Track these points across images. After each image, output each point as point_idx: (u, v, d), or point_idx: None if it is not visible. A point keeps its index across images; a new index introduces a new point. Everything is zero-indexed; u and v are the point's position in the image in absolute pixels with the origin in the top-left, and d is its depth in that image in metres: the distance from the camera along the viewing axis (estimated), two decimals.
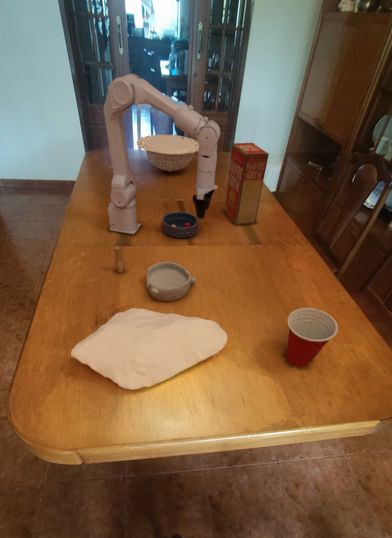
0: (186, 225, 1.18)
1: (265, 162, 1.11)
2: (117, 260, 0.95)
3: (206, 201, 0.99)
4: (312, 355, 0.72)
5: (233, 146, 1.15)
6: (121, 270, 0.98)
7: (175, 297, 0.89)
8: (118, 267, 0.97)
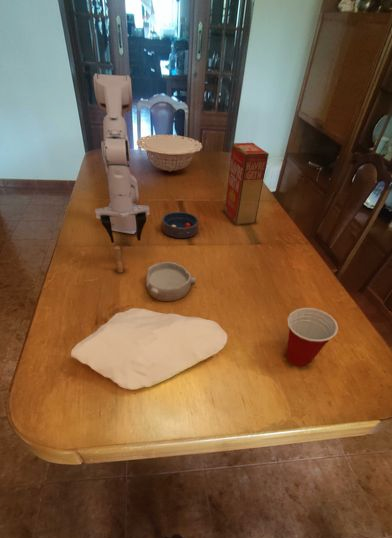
0: (186, 225, 1.18)
1: (265, 162, 1.11)
2: (117, 260, 0.95)
3: (102, 222, 0.86)
4: (312, 355, 0.72)
5: (233, 146, 1.15)
6: (121, 270, 0.98)
7: (175, 297, 0.89)
8: (118, 267, 0.97)
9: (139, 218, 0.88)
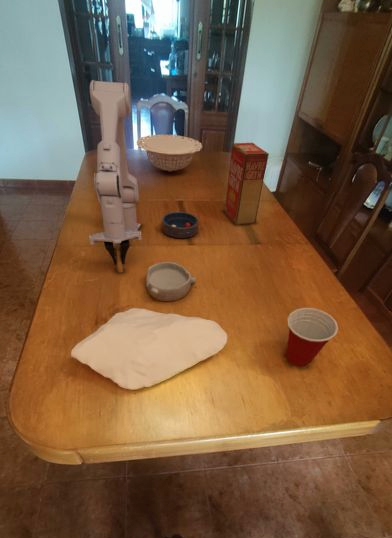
0: (186, 225, 1.18)
1: (265, 162, 1.11)
2: (117, 260, 0.95)
3: (105, 247, 0.90)
4: (312, 355, 0.72)
5: (233, 146, 1.15)
6: (121, 270, 0.98)
7: (175, 297, 0.89)
8: (118, 267, 0.97)
9: (122, 244, 0.91)
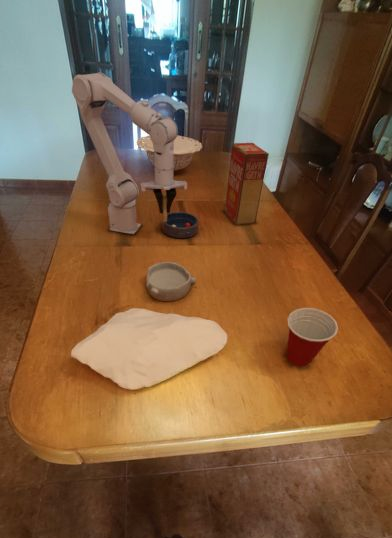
0: (186, 225, 1.18)
1: (265, 162, 1.11)
2: (163, 209, 1.04)
3: (155, 194, 0.99)
4: (312, 355, 0.72)
5: (233, 146, 1.15)
6: (166, 219, 1.07)
7: (175, 297, 0.89)
8: (163, 216, 1.06)
9: (170, 192, 1.00)
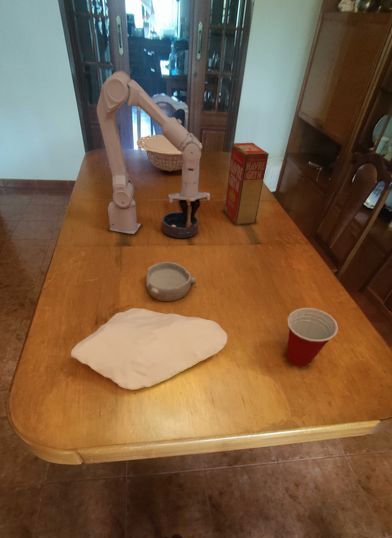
0: None
1: (265, 162, 1.11)
2: (188, 218, 1.14)
3: (181, 205, 1.09)
4: (312, 355, 0.72)
5: (233, 146, 1.15)
6: None
7: (175, 297, 0.89)
8: (187, 224, 1.16)
9: (195, 203, 1.10)
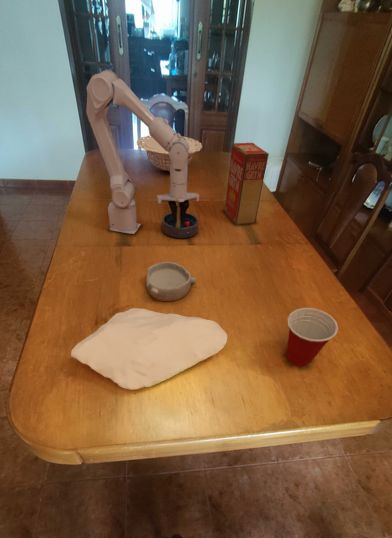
0: (185, 223, 1.19)
1: (265, 162, 1.11)
2: (177, 219, 1.13)
3: (170, 206, 1.08)
4: (312, 355, 0.72)
5: (233, 146, 1.15)
6: None
7: (175, 297, 0.89)
8: (177, 225, 1.15)
9: (184, 203, 1.09)
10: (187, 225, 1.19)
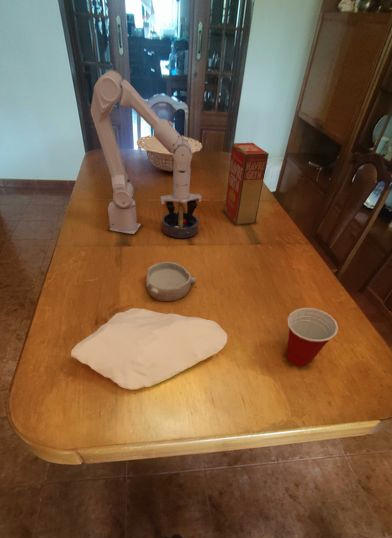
0: None
1: (265, 162, 1.11)
2: (179, 219, 1.15)
3: (167, 207, 1.10)
4: (312, 355, 0.72)
5: (233, 146, 1.15)
6: None
7: (175, 297, 0.89)
8: (179, 225, 1.17)
9: (191, 204, 1.11)
10: None
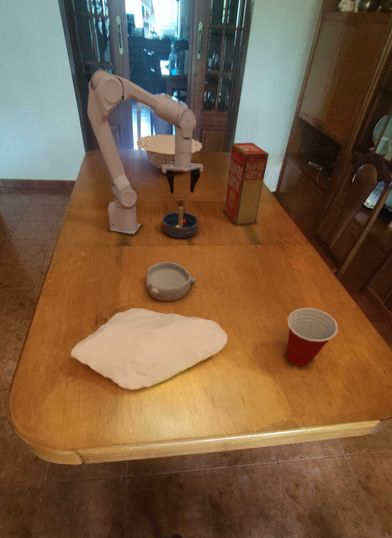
0: None
1: (265, 162, 1.11)
2: (179, 219, 1.15)
3: (167, 176, 1.11)
4: (312, 355, 0.72)
5: (233, 146, 1.15)
6: None
7: (175, 297, 0.89)
8: (179, 225, 1.17)
9: (195, 173, 1.13)
10: None
